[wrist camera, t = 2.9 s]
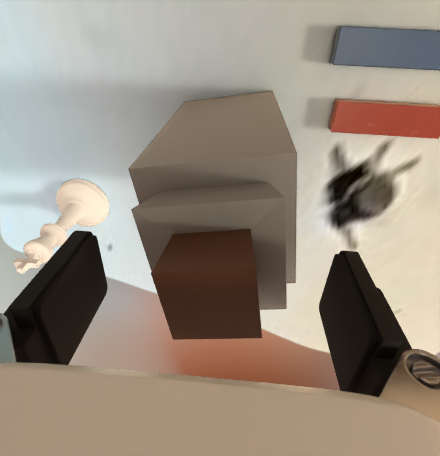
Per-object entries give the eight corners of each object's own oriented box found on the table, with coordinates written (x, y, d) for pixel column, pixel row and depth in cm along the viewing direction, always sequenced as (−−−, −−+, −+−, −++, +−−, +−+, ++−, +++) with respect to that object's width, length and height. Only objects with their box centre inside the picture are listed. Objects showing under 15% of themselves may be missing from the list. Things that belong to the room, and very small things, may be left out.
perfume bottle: (199, 180, 27) (140, 367, 12) (185, 101, 24) (76, 230, 9) (275, 174, 26) (311, 367, 11) (272, 90, 23) (320, 213, 8)
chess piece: (53, 177, 28) (-29, 239, 20) (104, 180, 28) (44, 245, 20) (66, 221, 31) (-1, 293, 23) (113, 225, 31) (63, 298, 22)
